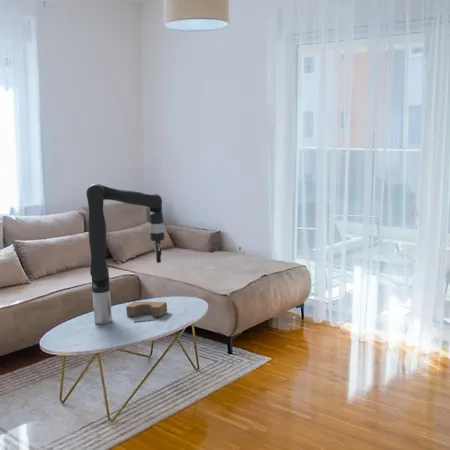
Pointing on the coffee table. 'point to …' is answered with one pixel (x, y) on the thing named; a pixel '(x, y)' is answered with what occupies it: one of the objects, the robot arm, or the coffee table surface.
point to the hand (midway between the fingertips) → (158, 262)
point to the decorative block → (147, 308)
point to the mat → (143, 318)
